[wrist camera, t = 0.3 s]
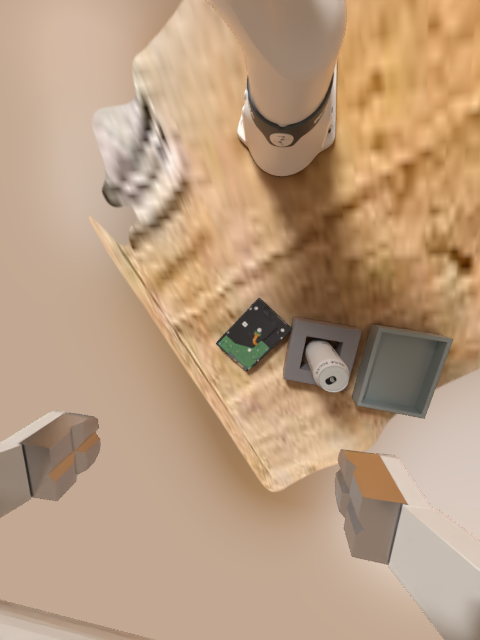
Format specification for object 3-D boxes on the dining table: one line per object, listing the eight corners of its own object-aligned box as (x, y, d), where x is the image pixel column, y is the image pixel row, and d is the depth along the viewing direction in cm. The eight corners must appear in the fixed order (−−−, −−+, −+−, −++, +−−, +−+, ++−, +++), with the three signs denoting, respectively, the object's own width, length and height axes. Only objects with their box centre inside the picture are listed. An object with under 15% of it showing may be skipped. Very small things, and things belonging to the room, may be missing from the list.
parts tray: (371, 323, 51) (378, 327, 47) (440, 334, 49) (453, 339, 46) (351, 397, 55) (356, 405, 51) (414, 409, 53) (424, 418, 50)
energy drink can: (336, 353, 53) (359, 384, 39) (313, 366, 54) (327, 401, 40) (321, 332, 52) (340, 355, 38) (298, 346, 54) (308, 373, 39)
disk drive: (258, 296, 54) (217, 340, 57) (257, 297, 51) (214, 344, 54) (291, 326, 54) (248, 369, 57) (292, 329, 51) (247, 373, 55)
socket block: (293, 316, 53) (294, 320, 49) (355, 326, 51) (361, 330, 47) (282, 371, 56) (283, 378, 52) (340, 382, 54) (346, 390, 50)
